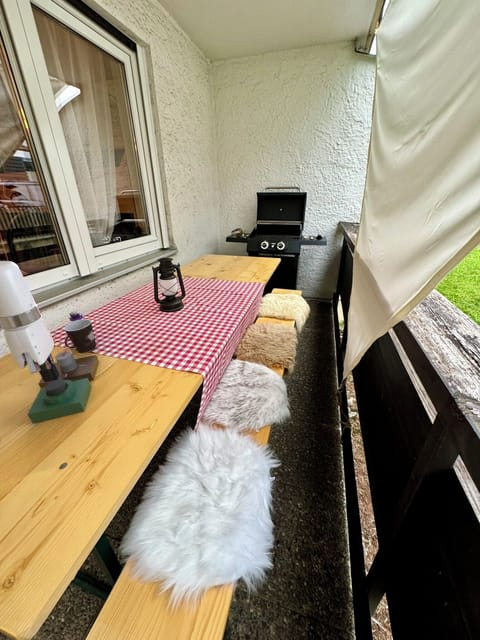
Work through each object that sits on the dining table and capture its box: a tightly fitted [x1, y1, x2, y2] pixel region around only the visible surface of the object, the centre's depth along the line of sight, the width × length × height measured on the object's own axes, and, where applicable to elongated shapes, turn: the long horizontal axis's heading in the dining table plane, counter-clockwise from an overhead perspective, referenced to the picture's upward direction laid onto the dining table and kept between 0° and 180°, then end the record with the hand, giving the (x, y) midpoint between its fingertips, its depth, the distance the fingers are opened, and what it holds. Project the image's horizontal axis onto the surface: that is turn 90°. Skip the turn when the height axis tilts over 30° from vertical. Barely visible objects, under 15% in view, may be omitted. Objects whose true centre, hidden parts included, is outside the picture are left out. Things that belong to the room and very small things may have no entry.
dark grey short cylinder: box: [45, 379, 67, 396], centre depth 69 cm, size 4×4×2 cm
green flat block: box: [27, 378, 93, 425], centre depth 70 cm, size 12×10×6 cm
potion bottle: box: [68, 310, 84, 330], centre depth 99 cm, size 9×9×12 cm
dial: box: [54, 349, 77, 373], centre depth 80 cm, size 4×4×5 cm
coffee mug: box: [63, 318, 97, 354], centre depth 93 cm, size 12×9×10 cm
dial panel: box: [38, 354, 100, 389], centre depth 82 cm, size 14×10×3 cm
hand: (52, 378), depth 67 cm, fingers closed
